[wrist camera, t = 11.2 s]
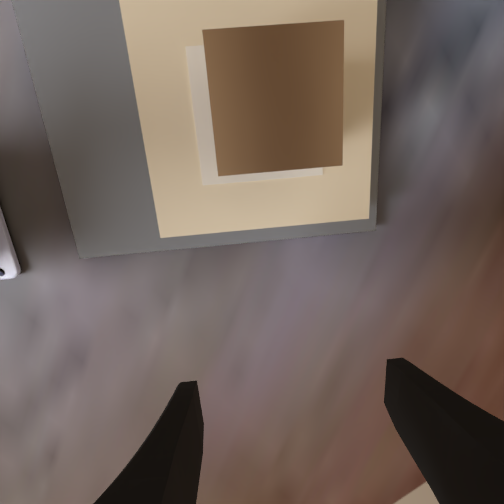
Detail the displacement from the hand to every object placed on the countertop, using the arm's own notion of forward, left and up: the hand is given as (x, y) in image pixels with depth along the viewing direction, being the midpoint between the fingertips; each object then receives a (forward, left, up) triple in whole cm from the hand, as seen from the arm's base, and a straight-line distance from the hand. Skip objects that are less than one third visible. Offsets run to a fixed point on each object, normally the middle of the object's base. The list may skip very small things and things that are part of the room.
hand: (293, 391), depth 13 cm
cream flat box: (-2, +10, -10) cm, 15 cm away
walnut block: (0, +10, -7) cm, 12 cm away
